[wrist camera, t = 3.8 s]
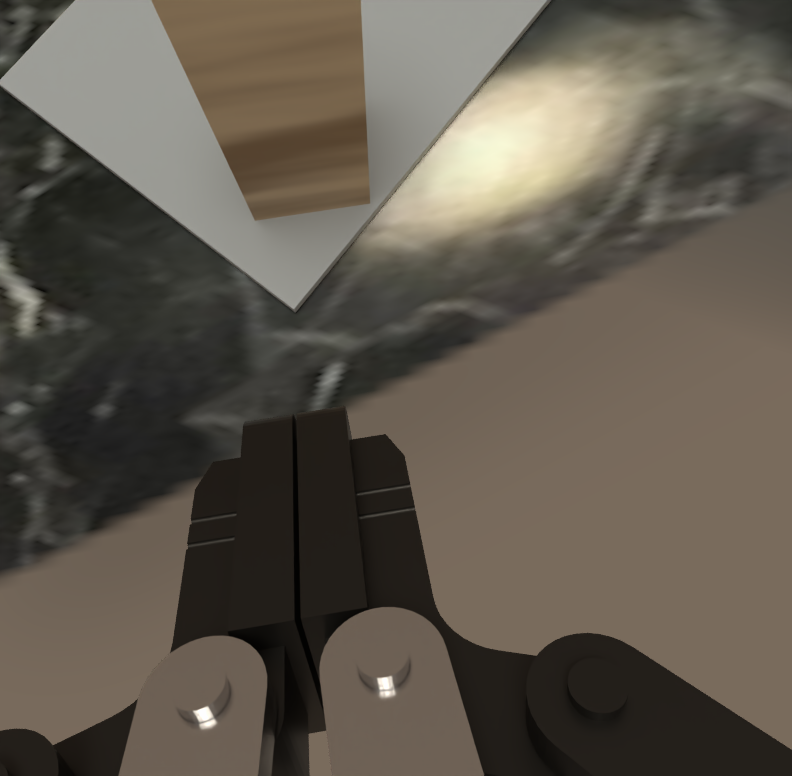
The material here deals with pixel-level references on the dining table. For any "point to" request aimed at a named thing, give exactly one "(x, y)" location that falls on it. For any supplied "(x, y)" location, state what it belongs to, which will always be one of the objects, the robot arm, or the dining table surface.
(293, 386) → the dining table surface
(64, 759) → the robot arm
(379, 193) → the rubber mat
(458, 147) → the dining table surface
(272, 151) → the birch block
